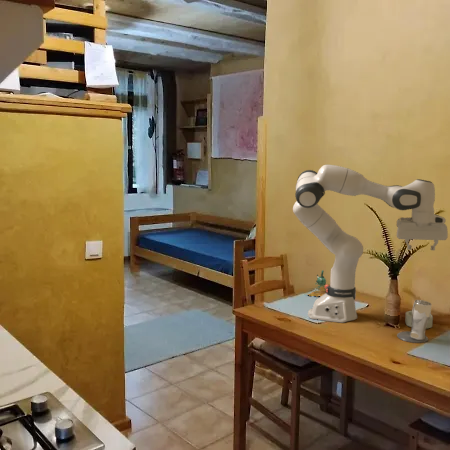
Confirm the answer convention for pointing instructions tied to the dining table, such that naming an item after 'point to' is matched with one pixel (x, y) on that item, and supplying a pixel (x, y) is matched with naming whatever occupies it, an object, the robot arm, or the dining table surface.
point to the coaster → (407, 338)
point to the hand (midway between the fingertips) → (420, 249)
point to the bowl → (409, 320)
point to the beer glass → (420, 319)
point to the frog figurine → (321, 282)
